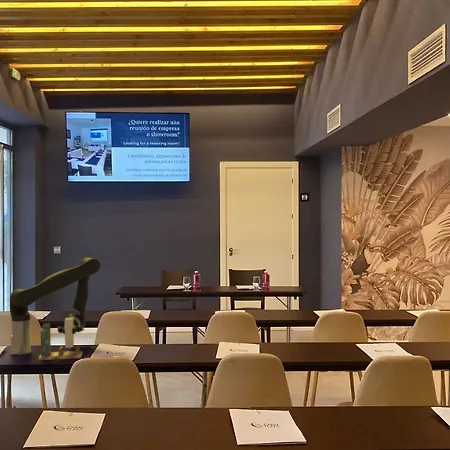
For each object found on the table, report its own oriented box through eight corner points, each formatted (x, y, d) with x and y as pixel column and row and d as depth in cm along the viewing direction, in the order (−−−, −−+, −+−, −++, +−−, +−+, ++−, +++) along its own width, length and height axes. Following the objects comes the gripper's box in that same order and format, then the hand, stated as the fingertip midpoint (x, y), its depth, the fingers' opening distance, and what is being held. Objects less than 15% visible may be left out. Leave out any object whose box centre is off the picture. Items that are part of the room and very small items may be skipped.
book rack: (38, 360, 275) (38, 326, 275) (42, 355, 285) (41, 323, 285) (80, 357, 278) (80, 324, 278) (82, 353, 288) (81, 321, 288)
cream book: (65, 347, 279) (64, 319, 279) (66, 345, 285) (66, 317, 285) (72, 347, 279) (71, 319, 279) (73, 344, 285) (73, 317, 285)
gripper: (58, 319, 295) (53, 325, 278) (85, 318, 297) (82, 323, 280) (58, 333, 295) (54, 340, 278) (86, 332, 297) (83, 338, 280)
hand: (68, 331), depth 279 cm, fingers closed on cream book, 3 cm apart
